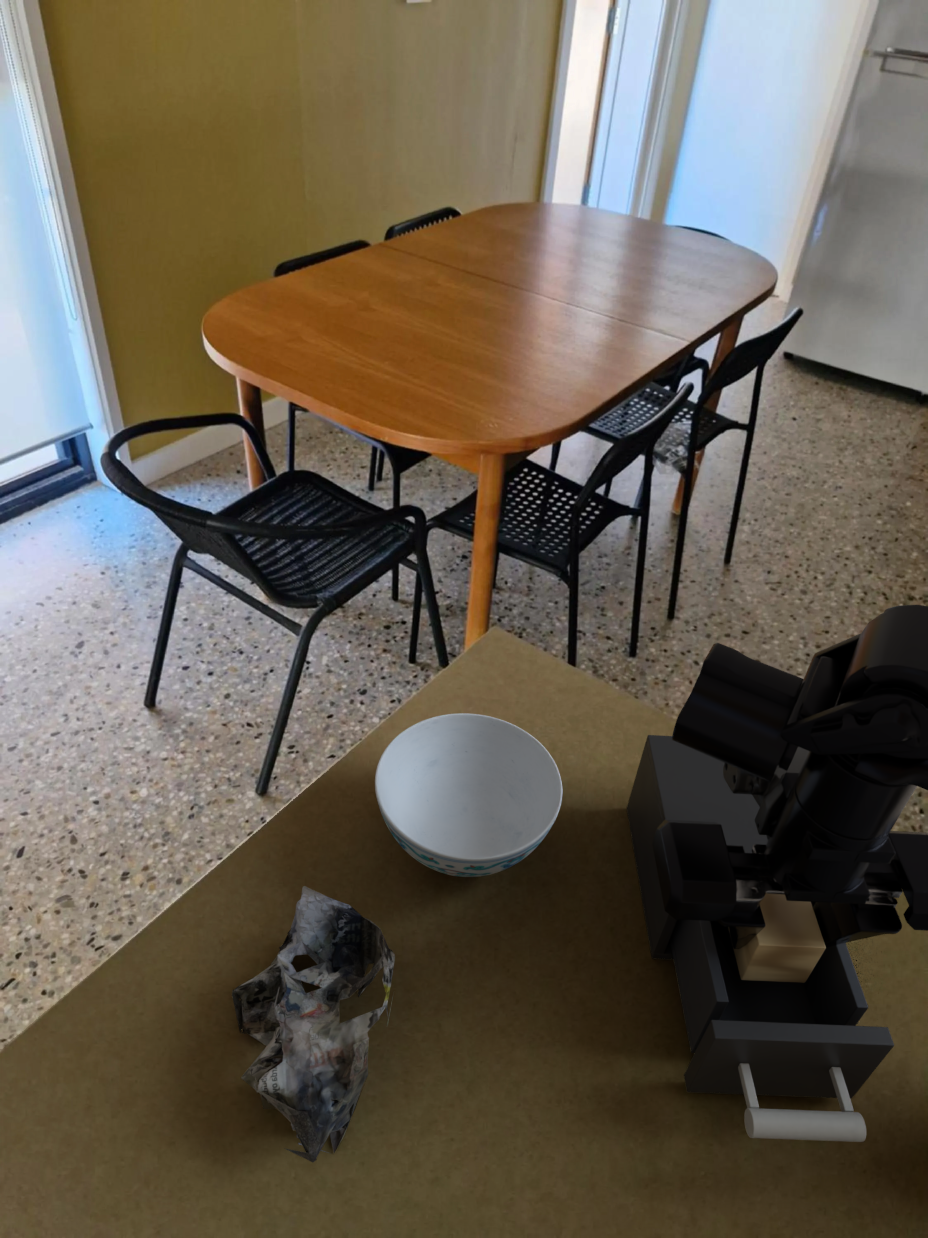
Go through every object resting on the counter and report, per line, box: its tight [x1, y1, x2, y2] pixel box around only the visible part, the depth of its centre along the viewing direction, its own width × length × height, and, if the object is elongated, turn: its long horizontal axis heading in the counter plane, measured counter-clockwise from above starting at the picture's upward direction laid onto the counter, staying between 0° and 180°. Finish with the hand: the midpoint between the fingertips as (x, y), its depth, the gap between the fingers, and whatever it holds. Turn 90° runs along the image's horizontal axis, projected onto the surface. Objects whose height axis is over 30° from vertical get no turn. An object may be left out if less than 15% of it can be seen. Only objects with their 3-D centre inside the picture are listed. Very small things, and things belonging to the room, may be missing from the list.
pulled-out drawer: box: [670, 902, 895, 1143], centre depth 61 cm, size 18×11×8 cm, turn 179°
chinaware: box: [374, 712, 563, 878], centre depth 73 cm, size 15×15×8 cm
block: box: [728, 894, 826, 983], centre depth 61 cm, size 4×4×4 cm
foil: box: [231, 885, 396, 1163], centre depth 60 cm, size 12×11×15 cm
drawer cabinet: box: [626, 734, 768, 961], centre depth 71 cm, size 15×13×10 cm
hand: (769, 944), depth 62 cm, fingers closed on block, 4 cm apart
